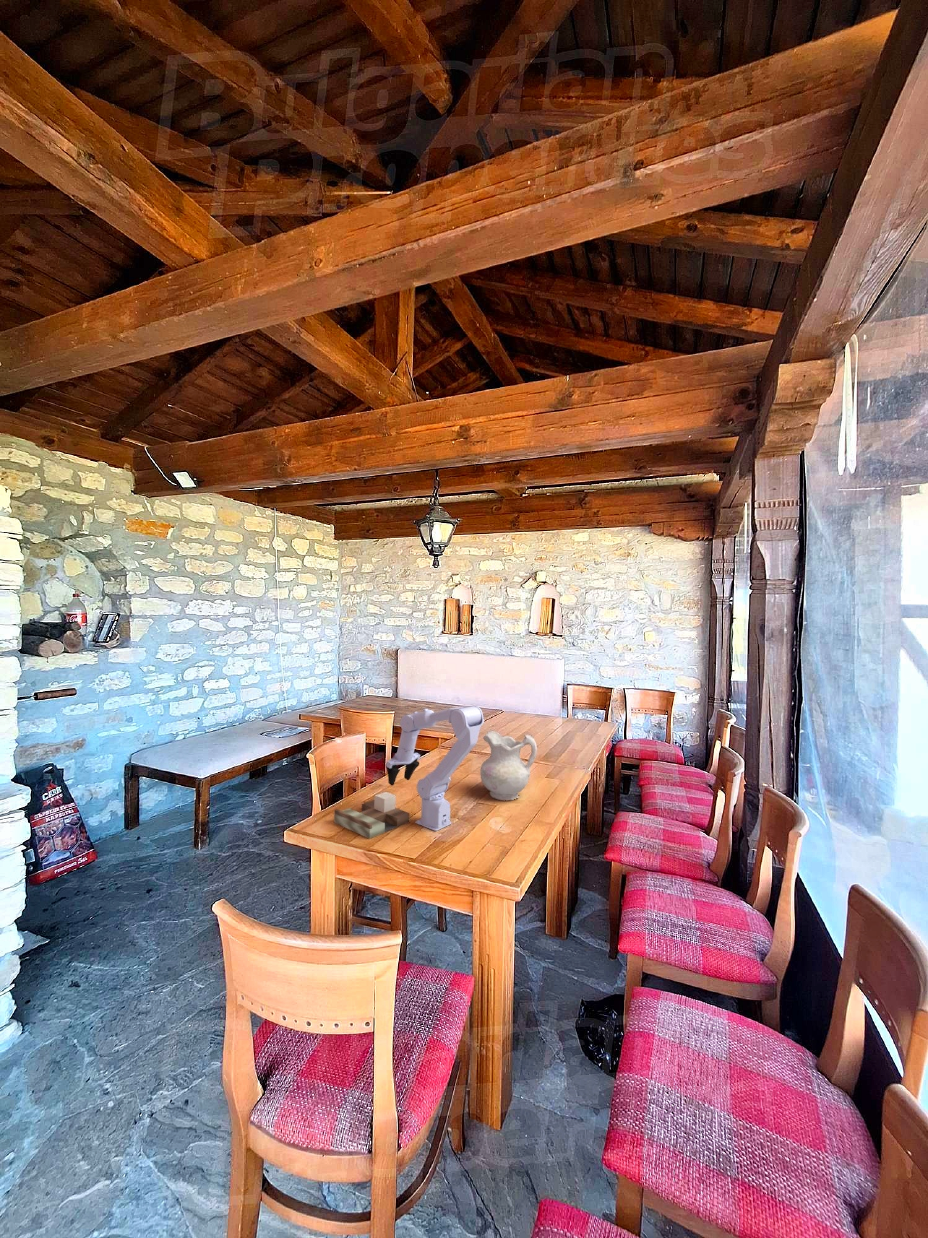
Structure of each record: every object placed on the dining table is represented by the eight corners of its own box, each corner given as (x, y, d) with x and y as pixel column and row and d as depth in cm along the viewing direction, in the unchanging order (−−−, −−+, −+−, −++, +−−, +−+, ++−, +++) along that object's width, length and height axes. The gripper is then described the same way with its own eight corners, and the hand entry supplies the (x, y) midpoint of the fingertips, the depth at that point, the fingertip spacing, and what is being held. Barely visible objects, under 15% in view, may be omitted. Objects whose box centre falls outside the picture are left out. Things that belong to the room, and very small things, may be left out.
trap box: (409, 822, 163) (409, 809, 163) (369, 839, 150) (370, 825, 150) (373, 808, 174) (374, 796, 174) (334, 822, 161) (334, 809, 161)
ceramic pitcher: (534, 792, 198) (535, 730, 200) (536, 806, 179) (538, 737, 181) (481, 789, 200) (482, 727, 202) (478, 803, 181) (479, 734, 183)
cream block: (395, 808, 167) (395, 795, 167) (384, 812, 163) (384, 799, 163) (385, 804, 170) (385, 791, 170) (374, 808, 166) (374, 795, 166)
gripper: (413, 738, 179) (406, 771, 181) (383, 745, 168) (376, 781, 170) (427, 746, 175) (419, 780, 177) (397, 754, 164) (389, 791, 166)
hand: (398, 781), depth 173 cm, fingers open, 7 cm apart
